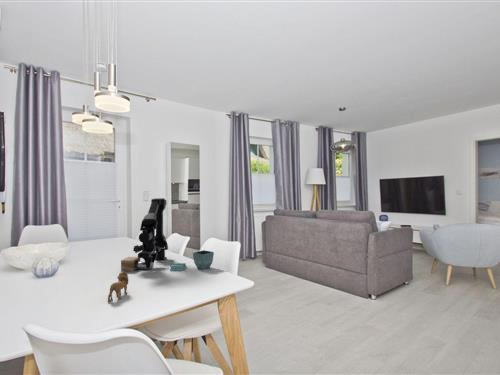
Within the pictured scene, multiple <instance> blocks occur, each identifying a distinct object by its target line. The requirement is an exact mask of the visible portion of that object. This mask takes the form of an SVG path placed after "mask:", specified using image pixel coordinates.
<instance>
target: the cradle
mask: <svg viewBox="0 0 500 375" xmlns="http://www.w3.org/2000/svg"><path fill="white" fill-rule="evenodd" d="M186 268H187V264H186V262H184V263H183V262H180V263H179V262H173V263H172V264H171V265H170V268H169V271H170V272H182V271H184V270H185V269H186Z"/></svg>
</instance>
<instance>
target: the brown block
mask: <svg viewBox="0 0 500 375" xmlns="http://www.w3.org/2000/svg"><path fill="white" fill-rule="evenodd" d="M135 262H141V258H138V256H128V257H125V258H122V259H121V260H120V271H121V272H134V271H136V269H135Z"/></svg>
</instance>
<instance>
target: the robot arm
mask: <svg viewBox="0 0 500 375" xmlns="http://www.w3.org/2000/svg"><path fill="white" fill-rule="evenodd" d="M150 202H151V203H150V207H149V209H148V212H147V214H145V216H144V217H143V219H142V220H141V224H140V229H139V231H141V233H140V234H139V235H138V240H139V242H141V243H142V244H141V245H138V244H136V245H134V246H133V248H132V251H133V252H135V254H137V253H138V254H137V257H138V258H140V259H142V260H144V262H145V263H146V266H147V268H150V265H151V262H153V263H155V261H164V260H165V259H167V256H166V251H167V250H169V245H168V242H167V237H166V235H164V211H165V210H166V206H167V202H168V201H167V199H165V198H164V197H161V198H160V197H159V198H151V200H150Z"/></svg>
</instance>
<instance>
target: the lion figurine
mask: <svg viewBox="0 0 500 375" xmlns="http://www.w3.org/2000/svg"><path fill="white" fill-rule="evenodd" d="M116 278H117V281H116V282H113V283H112V284H111V285H110V287H109V294H108V296H107V302H111V303H113V301H114V299H113V293H114V292H115V294H116V295H115V296H116V298H117V300H121V299H122V297H120V295H121V294H122V290H123V289H124V290H123V293H124V295H127V294H128V292H127V291H128V290H127V289H128V285H129V276H128V273H127V271H121V272H119V273H118V275H117V277H116Z"/></svg>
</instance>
